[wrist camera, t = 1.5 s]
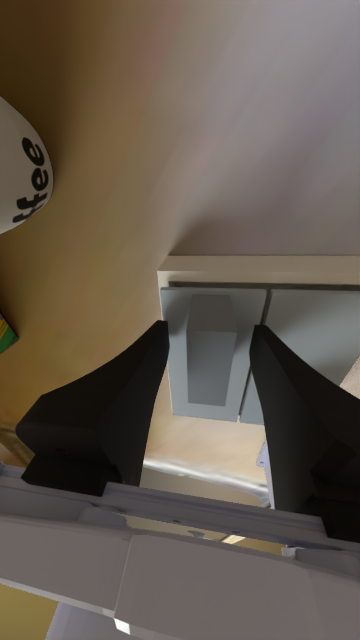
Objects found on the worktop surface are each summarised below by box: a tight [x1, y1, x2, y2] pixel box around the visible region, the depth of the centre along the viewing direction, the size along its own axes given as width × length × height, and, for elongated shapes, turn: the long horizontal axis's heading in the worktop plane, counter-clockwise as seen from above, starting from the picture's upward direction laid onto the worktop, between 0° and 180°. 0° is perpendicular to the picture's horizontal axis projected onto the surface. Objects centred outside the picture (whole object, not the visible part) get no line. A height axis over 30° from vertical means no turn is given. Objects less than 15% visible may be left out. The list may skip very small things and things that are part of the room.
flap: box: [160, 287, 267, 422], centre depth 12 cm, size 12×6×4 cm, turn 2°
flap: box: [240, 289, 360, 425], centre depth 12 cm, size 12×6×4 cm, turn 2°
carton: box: [157, 256, 360, 419], centre depth 15 cm, size 14×12×3 cm
